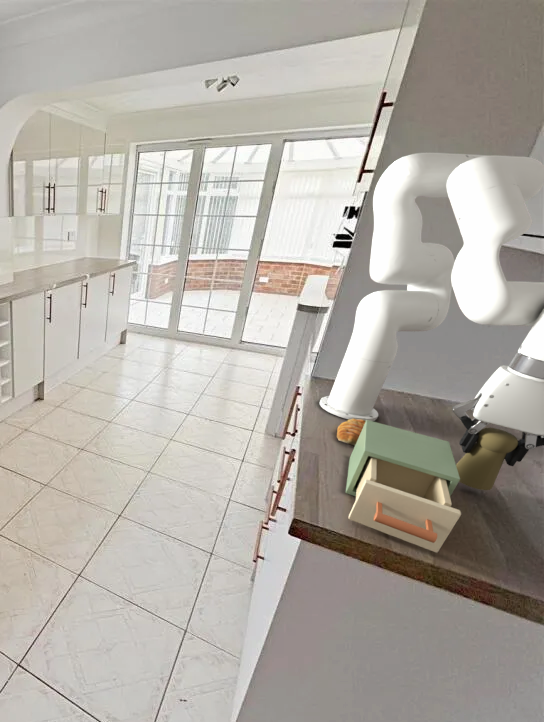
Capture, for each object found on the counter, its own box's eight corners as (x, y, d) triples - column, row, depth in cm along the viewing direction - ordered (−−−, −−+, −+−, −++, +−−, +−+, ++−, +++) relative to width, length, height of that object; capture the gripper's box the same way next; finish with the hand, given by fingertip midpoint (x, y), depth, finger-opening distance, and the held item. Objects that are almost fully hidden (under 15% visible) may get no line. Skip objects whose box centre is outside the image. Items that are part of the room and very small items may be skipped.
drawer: (440, 573, 60) (466, 533, 56) (346, 535, 66) (364, 497, 63) (429, 506, 73) (449, 471, 70) (352, 480, 79) (367, 446, 76)
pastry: (362, 452, 90) (368, 437, 88) (327, 439, 95) (333, 424, 93) (374, 438, 95) (381, 424, 94) (341, 426, 100) (346, 413, 98)
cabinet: (433, 524, 70) (460, 479, 66) (345, 492, 77) (364, 450, 73) (426, 482, 81) (449, 441, 77) (349, 458, 88) (366, 419, 84)
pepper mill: (447, 465, 83) (475, 419, 78) (488, 477, 80) (520, 430, 75) (452, 481, 78) (482, 433, 74) (495, 494, 75) (530, 445, 70)
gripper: (613, 375, 67) (547, 464, 75) (470, 348, 76) (425, 431, 84) (633, 391, 61) (559, 486, 69) (477, 360, 70) (427, 447, 79)
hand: (486, 455), depth 77 cm, fingers closed on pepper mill, 5 cm apart
